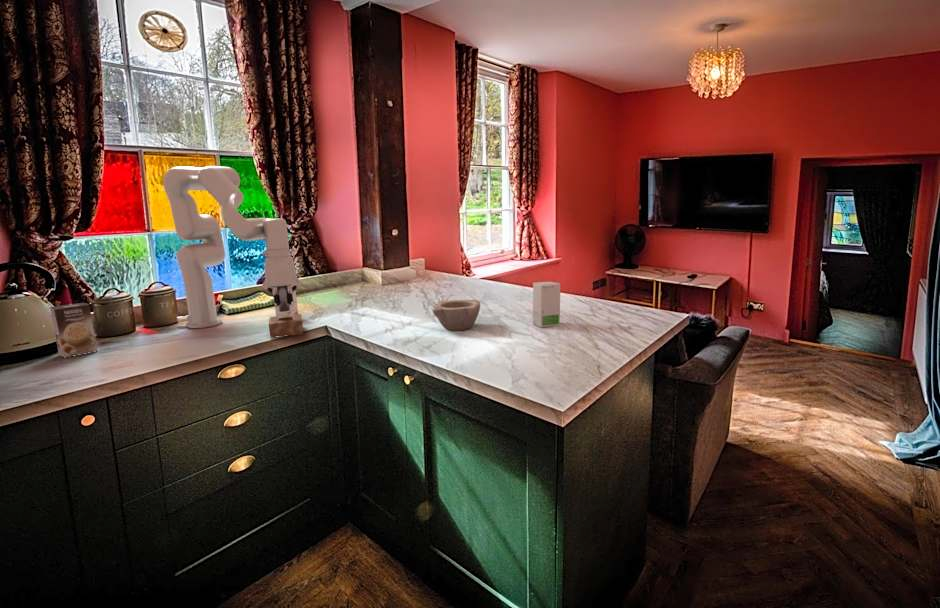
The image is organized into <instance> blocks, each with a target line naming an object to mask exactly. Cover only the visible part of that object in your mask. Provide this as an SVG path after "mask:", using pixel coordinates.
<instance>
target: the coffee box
mask: <svg viewBox="0 0 940 608" xmlns="http://www.w3.org/2000/svg"><path fill="white" fill-rule="evenodd" d="M49 309H50V315H51V320H52V326H53V331H55V332H54V336H55V335H56V337H55V340H57V342H56V348H57V352H58V356H59V357H61V356H62V357H64V358H63V359H67V358H66V357H69V356H73V355H78V354H84V353H88V352H94V351H98V352H99V350H98V346H97V340H96V335H95V329H94V323H93V319H92V312H91V306H90V303H86V302H79V303H71V304H64V305H55V306H50V307H49ZM94 353H95V352H94ZM84 355H85V354H84ZM62 357H61V358H62ZM69 358H70V357H69Z"/></svg>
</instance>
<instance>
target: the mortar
mask: <svg viewBox="0 0 940 608" xmlns="http://www.w3.org/2000/svg"><path fill="white" fill-rule="evenodd" d="M480 310H481V302H480V300H478V299H450V300H439V301H438V302H437V303H435V304H434V305H433V309H432V313H433V314H434V316H435V318H437V319H438V321H439V323H440V325H441V326H442V327H443V328H445V330H449V331H466V330H469V329H471V328H472V327H473V326H474V324H475V322H476V320H477V319H478V316H479V313H480Z"/></svg>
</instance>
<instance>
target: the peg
mask: <svg viewBox="0 0 940 608" xmlns="http://www.w3.org/2000/svg"><path fill="white" fill-rule="evenodd" d="M276 292H277V293H278V301H279V311H289V310H290V305H289V298H288V287H287V286H279V287H276Z"/></svg>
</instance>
